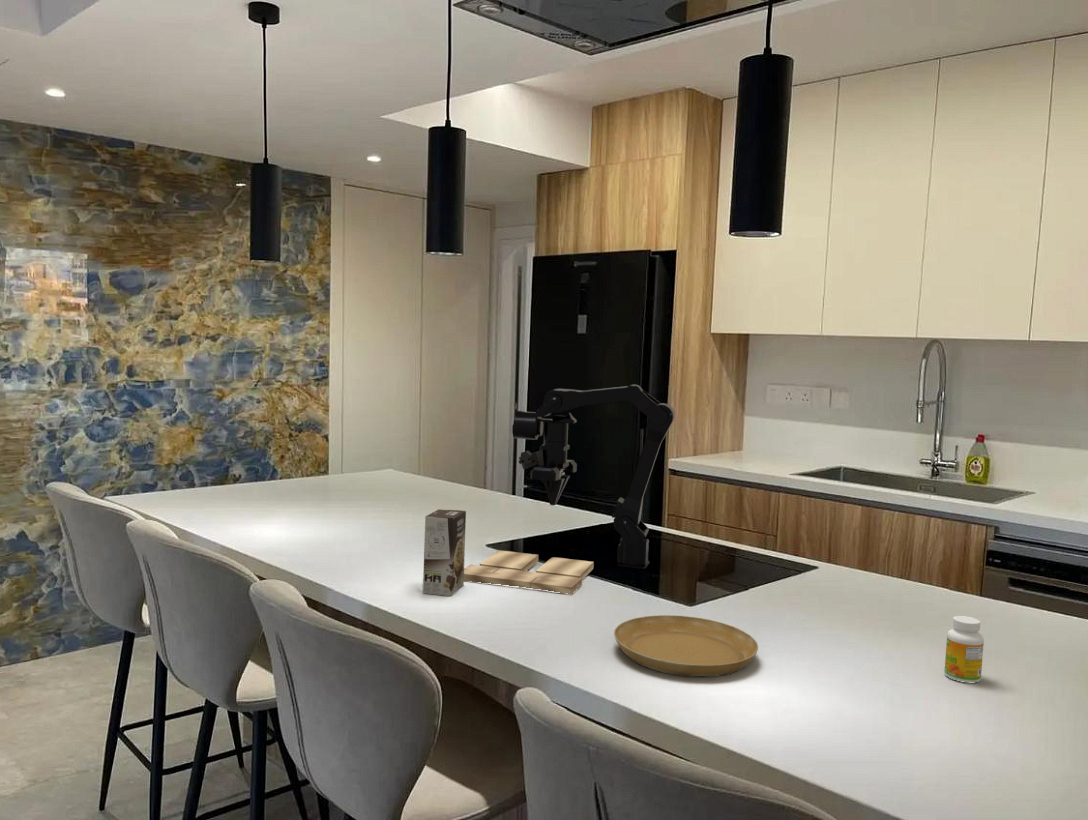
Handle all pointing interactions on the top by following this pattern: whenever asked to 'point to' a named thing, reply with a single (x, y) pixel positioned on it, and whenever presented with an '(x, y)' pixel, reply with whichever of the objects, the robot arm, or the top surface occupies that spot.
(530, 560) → the far plank
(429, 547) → the coffee box
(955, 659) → the supplement bottle
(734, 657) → the plant saucer
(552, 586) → the laid section
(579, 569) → the near plank
